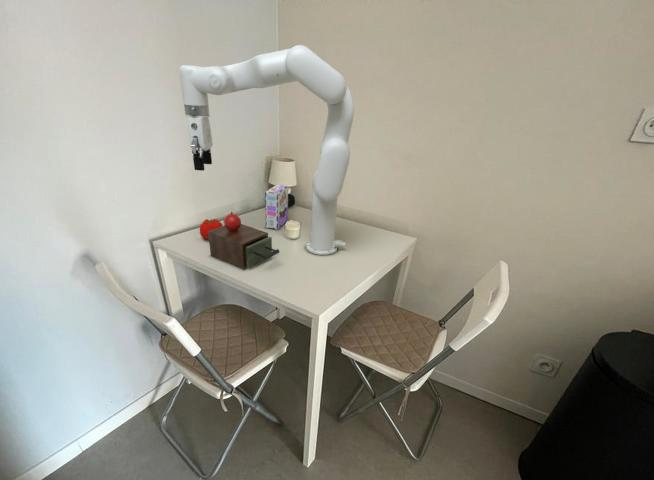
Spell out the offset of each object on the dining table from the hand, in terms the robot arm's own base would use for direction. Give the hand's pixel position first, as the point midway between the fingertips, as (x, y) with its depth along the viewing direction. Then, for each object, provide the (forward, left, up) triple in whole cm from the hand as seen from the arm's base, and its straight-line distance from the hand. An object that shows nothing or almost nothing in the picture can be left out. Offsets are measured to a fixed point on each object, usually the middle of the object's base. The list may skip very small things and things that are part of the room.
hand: (203, 166), depth 120 cm
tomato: (+2, -6, -30) cm, 31 cm away
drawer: (-17, +12, -29) cm, 36 cm away
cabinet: (-12, +9, -30) cm, 33 cm away
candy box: (-23, -26, -30) cm, 46 cm away
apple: (-10, +8, -20) cm, 24 cm away
